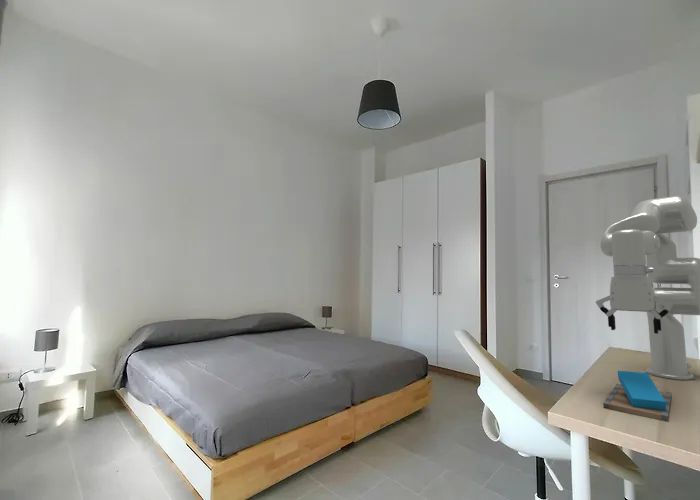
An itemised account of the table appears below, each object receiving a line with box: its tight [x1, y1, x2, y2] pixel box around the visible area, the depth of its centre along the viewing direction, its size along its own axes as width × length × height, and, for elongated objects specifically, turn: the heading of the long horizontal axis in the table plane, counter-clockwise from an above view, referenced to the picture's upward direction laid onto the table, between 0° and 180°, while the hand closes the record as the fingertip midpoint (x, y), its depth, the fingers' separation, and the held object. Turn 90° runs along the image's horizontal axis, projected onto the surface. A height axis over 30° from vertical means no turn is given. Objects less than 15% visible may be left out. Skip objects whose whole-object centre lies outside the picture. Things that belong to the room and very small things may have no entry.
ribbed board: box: [603, 383, 673, 422], centre depth 98 cm, size 24×13×1 cm, turn 136°
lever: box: [617, 370, 666, 410], centre depth 98 cm, size 7×7×18 cm
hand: (634, 331), depth 100 cm, fingers open, 9 cm apart
